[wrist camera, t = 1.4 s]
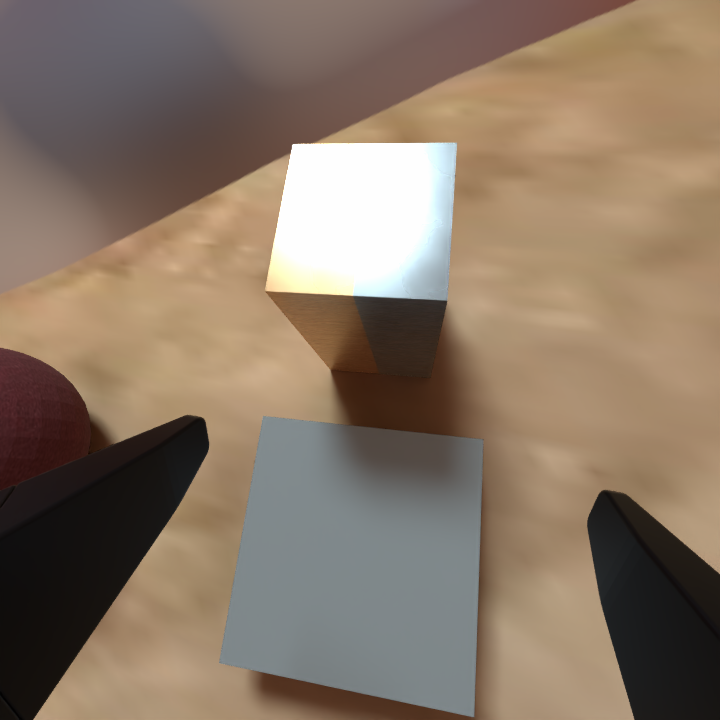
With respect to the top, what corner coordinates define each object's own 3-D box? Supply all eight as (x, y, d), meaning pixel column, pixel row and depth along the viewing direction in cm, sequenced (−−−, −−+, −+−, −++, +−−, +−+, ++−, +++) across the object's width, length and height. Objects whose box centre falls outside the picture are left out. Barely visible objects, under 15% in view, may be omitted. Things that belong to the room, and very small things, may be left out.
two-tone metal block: (430, 377, 22) (447, 300, 12) (330, 369, 23) (264, 291, 13) (436, 284, 24) (456, 142, 13) (342, 280, 25) (293, 144, 14)
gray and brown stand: (463, 675, 18) (473, 717, 15) (248, 633, 20) (219, 663, 17) (472, 443, 21) (483, 439, 18) (282, 422, 23) (263, 416, 20)
